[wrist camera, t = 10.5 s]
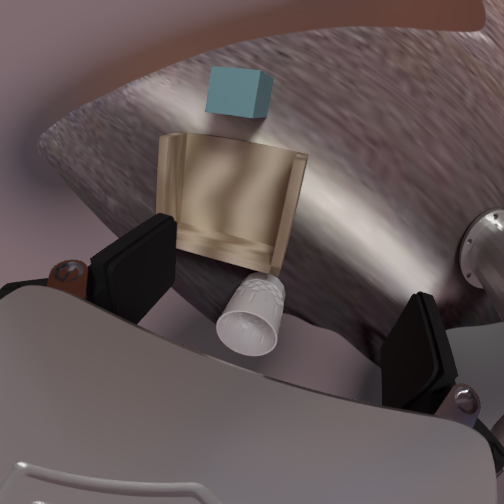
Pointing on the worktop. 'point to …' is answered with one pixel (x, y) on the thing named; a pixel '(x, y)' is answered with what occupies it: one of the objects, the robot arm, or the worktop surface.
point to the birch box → (230, 197)
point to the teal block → (239, 92)
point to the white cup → (253, 315)
